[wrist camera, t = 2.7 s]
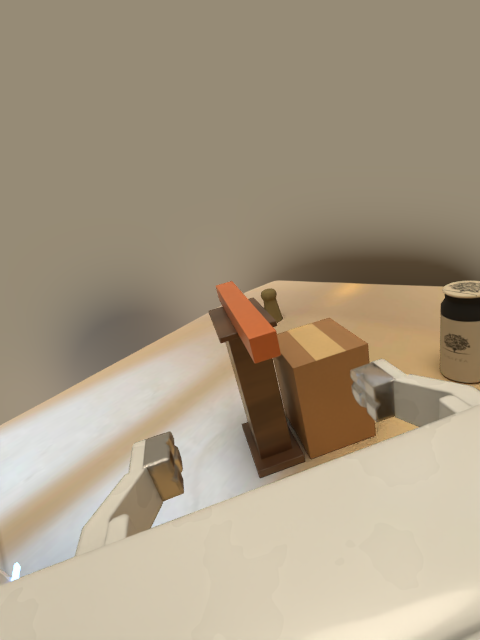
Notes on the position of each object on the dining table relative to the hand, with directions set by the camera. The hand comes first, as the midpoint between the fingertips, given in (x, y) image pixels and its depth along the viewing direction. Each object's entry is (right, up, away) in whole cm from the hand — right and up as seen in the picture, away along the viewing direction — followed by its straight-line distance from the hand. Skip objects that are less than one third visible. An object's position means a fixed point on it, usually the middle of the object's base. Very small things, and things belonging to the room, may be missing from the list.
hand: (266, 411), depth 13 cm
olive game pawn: (+11, +4, +94) cm, 95 cm away
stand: (+5, -19, +43) cm, 47 cm away
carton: (+15, -15, +44) cm, 49 cm away
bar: (-1, +4, +30) cm, 31 cm away
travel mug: (+44, -7, +48) cm, 66 cm away
